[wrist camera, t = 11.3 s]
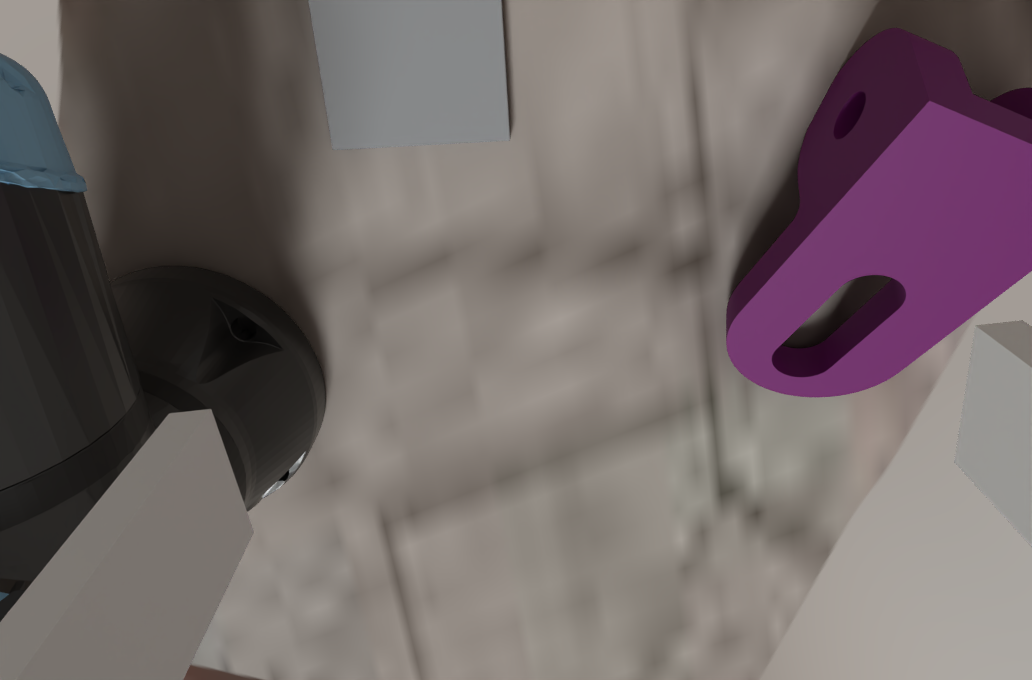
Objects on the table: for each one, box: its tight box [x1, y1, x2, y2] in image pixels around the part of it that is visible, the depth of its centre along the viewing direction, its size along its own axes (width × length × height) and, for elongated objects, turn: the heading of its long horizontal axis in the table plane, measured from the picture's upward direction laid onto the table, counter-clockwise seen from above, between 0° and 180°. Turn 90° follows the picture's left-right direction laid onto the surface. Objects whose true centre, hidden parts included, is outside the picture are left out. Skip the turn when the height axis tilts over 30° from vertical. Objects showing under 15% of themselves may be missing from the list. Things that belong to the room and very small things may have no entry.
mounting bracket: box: [726, 28, 1032, 397], centre depth 38 cm, size 9×8×18 cm
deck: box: [308, 0, 510, 150], centre depth 36 cm, size 9×9×1 cm
